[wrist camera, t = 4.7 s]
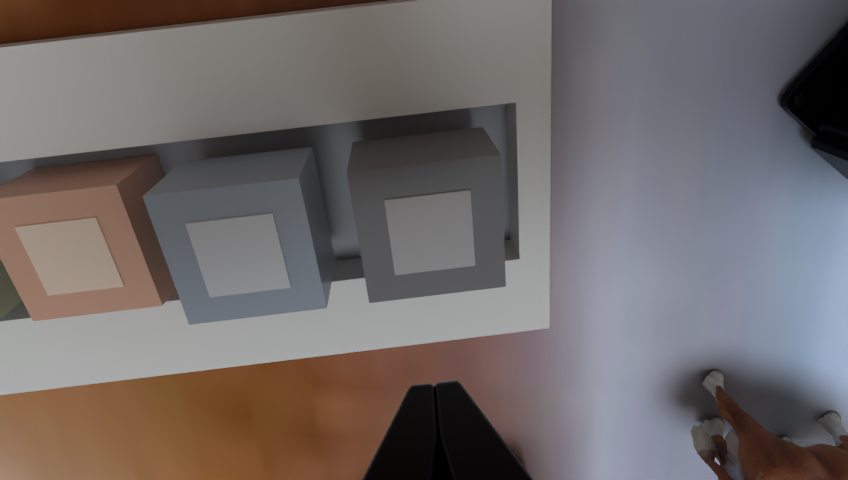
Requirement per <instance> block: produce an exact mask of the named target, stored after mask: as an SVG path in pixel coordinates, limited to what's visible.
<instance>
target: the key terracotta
mask: <svg viewBox="0 0 848 480" xmlns="http://www.w3.org/2000/svg"><path fill="white" fill-rule="evenodd" d="M163 178H164V175H163V172H162V170H161V167H160V164H159V161H158V158H157V155H156V154H155V155H146V156H138V157H129V158H120V159H112V160H103V161H95V162H86V163H77V164H69V165H60V166H52V167H43V168H34V169H31V170H29V171H27V172H26V173H24V174H22V175H20V176H18V177H16V178H14V179H12V180H11V181H9V182H7V183H5V184H3V185H1V186H0V259H1V261H2V263H3V265H4V267H5V269H6V270H7V272H8V274H9V276H10V278H11V280H12V282H13V284H14V286H15V288H16V290H17V292H18V294H19V295H20V297H21V299H22V301H23V303H24V305H25V307H26V309H27V311H28V313H29V315H30V317H31V318H32V320H33V321H40V320H48V319H56V318H65V317H73V316H81V315H90V314H98V313H106V312H115V311H123V310H131V309H140V308H148V307H156V306H163V304H164V303H165V301H166V300H167V298H168V297H169V296H170V294H171V293H172V291H173V290H174V288H175V285H174V282H173V279H172V276H171V274H170V271H169V268H168V265H167V263H166V260H165V257H164V254H163V252H162V249H161V246H160V243H159V241H158V238H157V235H156V232H155V230H154V227H153V224H152V221H151V219H150V216H149V213H148V210H147V208H146V205H145V202H144V199H143V197H142V196H143V195H145V194H146V193H147V192H148V191H149V190H150V189H151V188H152V187H154V186H155V185H156V184H157V183H158V182H159V181H160V180H161V179H163Z"/></svg>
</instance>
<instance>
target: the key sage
mask: <svg viewBox="0 0 848 480" xmlns="http://www.w3.org/2000/svg"><path fill="white" fill-rule="evenodd" d="M21 301H22V299H21V297H20V295H19V294H18V292H17V290H16V288H15V286H14V284H13V282H12V280H11V278H10V276H9V274H8V272H7V270H6V269H5V267H4V265H3V263H2V261H1V259H0V319H1V318H3V317H4V316H5V315H6V314H7V313H8V312H9V311H11V310H12V309H13V308H14V307H15V306H16V305H17V304H18V303H20V302H21Z"/></svg>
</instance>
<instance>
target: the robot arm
mask: <svg viewBox="0 0 848 480" xmlns="http://www.w3.org/2000/svg"><path fill="white" fill-rule="evenodd" d="M799 94H801V99H800V100H799V102H797V103H796V104H795V99H796V97H797V96H798V95H799ZM781 106H782V108H783V109H784V110H785V111H786V112H787V113H788V114H789V115H790V116H791V117H793V118H794V119H795V120H796V121H797V122H798V123H799V124H800V125H802V126H803V127H804V128H805V129H806V130H807V131H808V132H809V133H811V134H812V135H813V136H814V137H813V138H812V139H811V148H812V149H814V150H815V151H816V152H817V153H818V154H819V155H820V156H822V157H823V158H824V159H825V160H826V161H827V162H828V163H830V164H831V165H832V166H833V167H834V168H835V169H836V170H838V171H839V172H840V173H841V174H842V175H843V176H844V177H845V178H847V179H848V23H847V25H846V26H845V27H844V28H843V29H842V30H841V31H840V32H839V33H838V34H837V35H836V36H835V37H834V39H833V40H832V41H831V42H830V43H829V44H828V45H827V46H826V47H825V48H824V49H823V50H822V52H821V53H820V54H819V55H818V56H817V57H816V58H815V59H814V60H813V61H812V62H811V63H810V64H809V66H808V67H807V68H806V69H805V70H804V71H803V72H802V73H801V74H800V75H799V76H798V77H797V79H796V80H795V81H794V82H793V83H792V84H791V85H790V86H789V87H788V88H787V89H786V90H785V92H784V93H783V95H782V97H781ZM363 480H533V479H532V478H531V476H530V475H529V474H528V472H527V471H526V470H525V468H524V467H523V466H522V464H521V463H520V462H519V460H518V459H517V458H516V456H515V455H514V454H513V452H512V451H511V450H510V448H509V447H508V446H507V444H506V443H505V442H504V440H503V439H502V438H501V436H500V435H499V434H498V432H497V431H496V430H495V428H494V427H493V426H492V424H491V423H490V422H489V420H488V419H487V418H486V417H485V415H484V414H483V413H482V411H481V410H480V409H479V407H478V406H477V405H476V403H475V402H474V401H473V399H472V398H471V397H470V395H469V394H468V393H467V391H466V390H465V389H464V387H463V386H462V385H461V383H460V382H458V381H447V382H439V383H437V384H436V385H435V387H434V385H433V384H431V383H428V384H419V385H412V386H411V387H410V388H409V389H408V391H407V393H406V395H405V397H404V399H403V401H402V403H401V405H400V407H399V409H398V411H397V413H396V415H395V417H394V419H393V421H392V423H391V425H390V427H389V428H388V430H387V432H386V434H385V436H384V438H383V440H382V442H381V444H380V446H379V448H378V450H377V452H376V454H375V456H374V458H373V460H372V462H371V464H370V466H369V468H368V470H367V472H366V474H365V476H364V478H363Z"/></svg>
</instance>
